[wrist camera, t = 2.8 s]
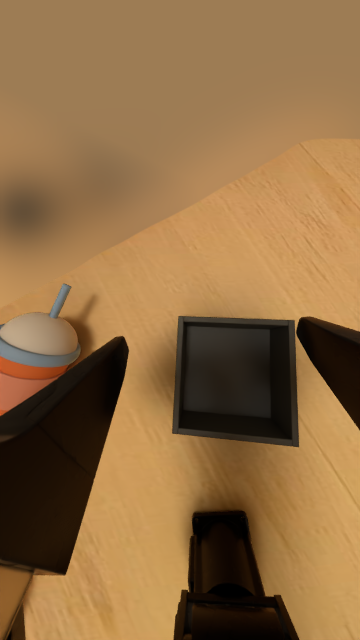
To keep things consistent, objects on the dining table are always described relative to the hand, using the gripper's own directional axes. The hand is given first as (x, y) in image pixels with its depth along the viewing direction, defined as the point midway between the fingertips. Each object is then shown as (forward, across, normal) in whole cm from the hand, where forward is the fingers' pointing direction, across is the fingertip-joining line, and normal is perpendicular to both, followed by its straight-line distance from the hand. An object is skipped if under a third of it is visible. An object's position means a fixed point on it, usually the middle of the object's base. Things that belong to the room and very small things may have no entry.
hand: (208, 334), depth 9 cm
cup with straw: (+5, +26, +13) cm, 29 cm away
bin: (+9, -3, +13) cm, 16 cm away
